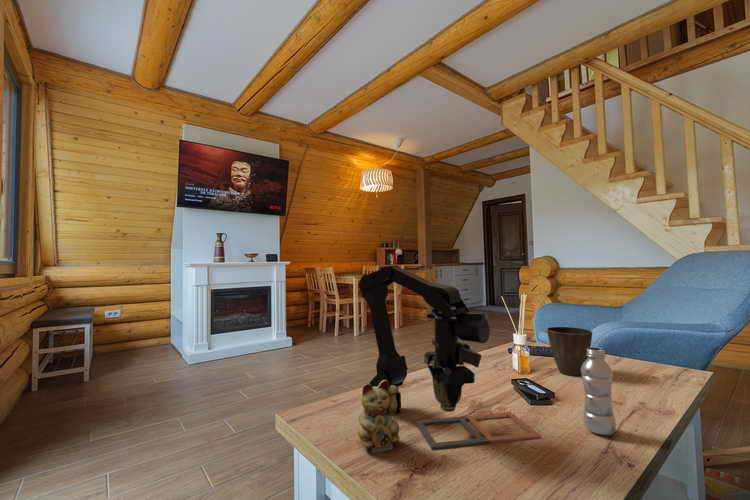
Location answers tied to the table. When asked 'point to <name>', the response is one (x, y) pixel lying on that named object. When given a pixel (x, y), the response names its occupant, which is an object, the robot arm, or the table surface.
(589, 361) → the plastic bottle
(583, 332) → the plant pot
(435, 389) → the dark ridged bell shape
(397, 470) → the table surface
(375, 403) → the decorative figurine
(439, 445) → the rectangular frame
